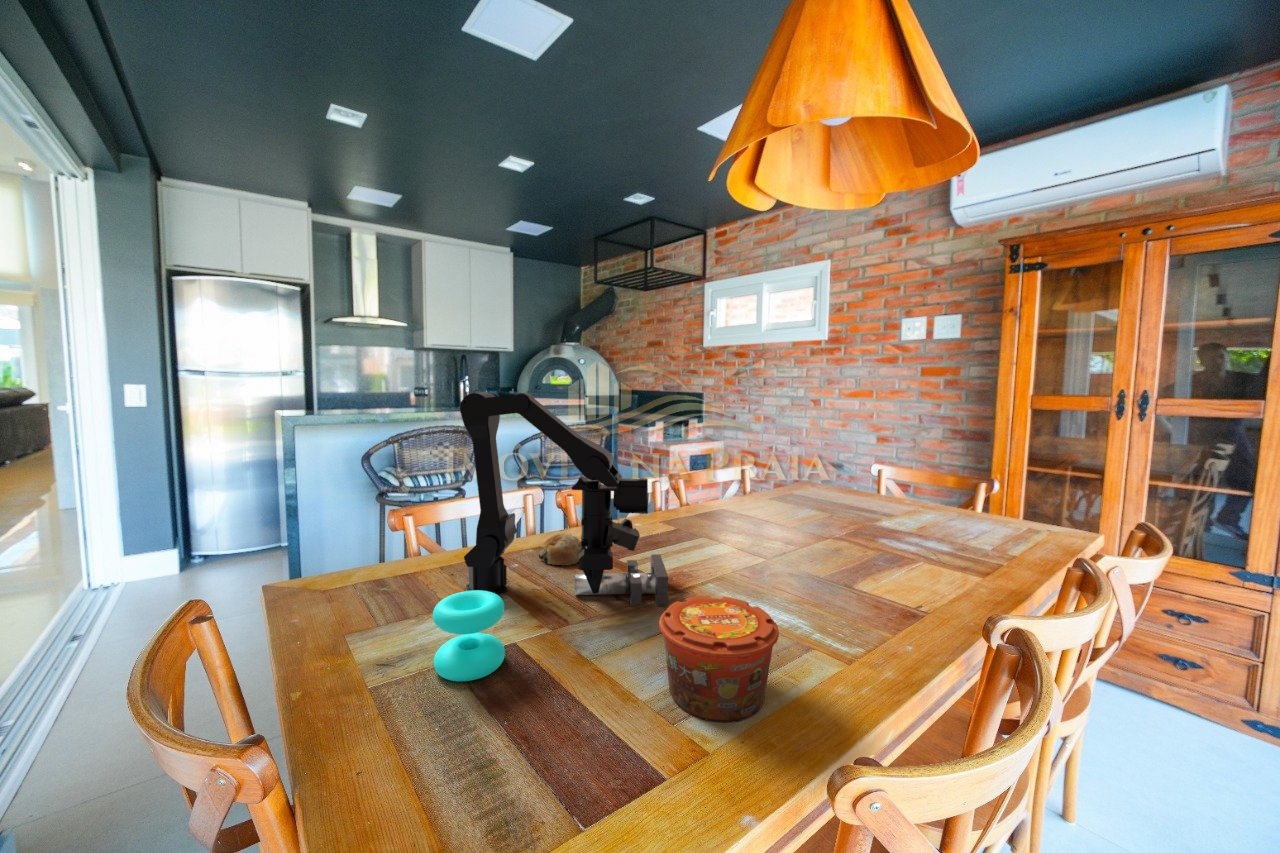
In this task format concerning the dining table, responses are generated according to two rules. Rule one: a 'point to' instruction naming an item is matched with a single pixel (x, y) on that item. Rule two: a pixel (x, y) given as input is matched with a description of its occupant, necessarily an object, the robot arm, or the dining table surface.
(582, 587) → the tube
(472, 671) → the donuts
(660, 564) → the gray bridge arch
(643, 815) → the dining table surface
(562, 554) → the bread roll
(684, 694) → the food container
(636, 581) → the cradle collar
